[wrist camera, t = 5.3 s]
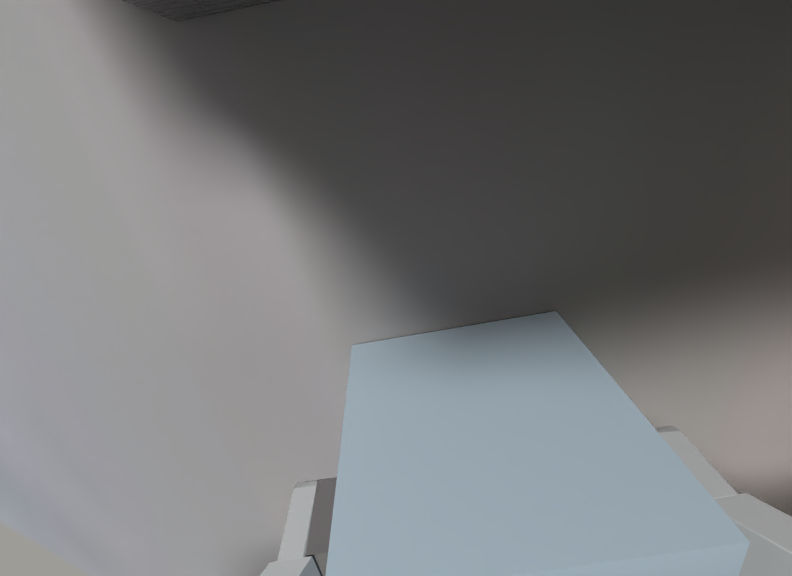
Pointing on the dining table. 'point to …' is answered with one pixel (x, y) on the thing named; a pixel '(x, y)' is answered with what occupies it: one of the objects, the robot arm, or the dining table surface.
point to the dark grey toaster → (192, 7)
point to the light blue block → (511, 465)
